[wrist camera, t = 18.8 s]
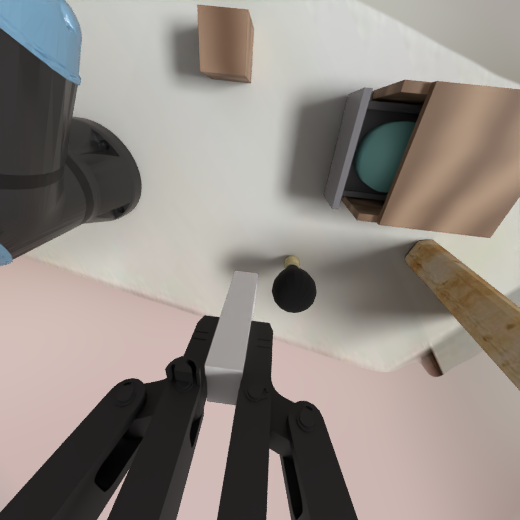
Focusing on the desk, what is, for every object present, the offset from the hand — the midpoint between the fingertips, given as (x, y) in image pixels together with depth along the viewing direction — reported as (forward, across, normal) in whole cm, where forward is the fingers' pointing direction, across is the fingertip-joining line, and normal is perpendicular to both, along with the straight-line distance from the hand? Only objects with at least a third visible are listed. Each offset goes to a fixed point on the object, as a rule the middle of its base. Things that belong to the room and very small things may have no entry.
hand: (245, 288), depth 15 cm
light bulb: (+25, -6, +12) cm, 28 cm away
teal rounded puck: (+23, -16, -7) cm, 29 cm away
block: (+24, +6, -16) cm, 30 cm away
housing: (+24, -20, -7) cm, 32 cm away
